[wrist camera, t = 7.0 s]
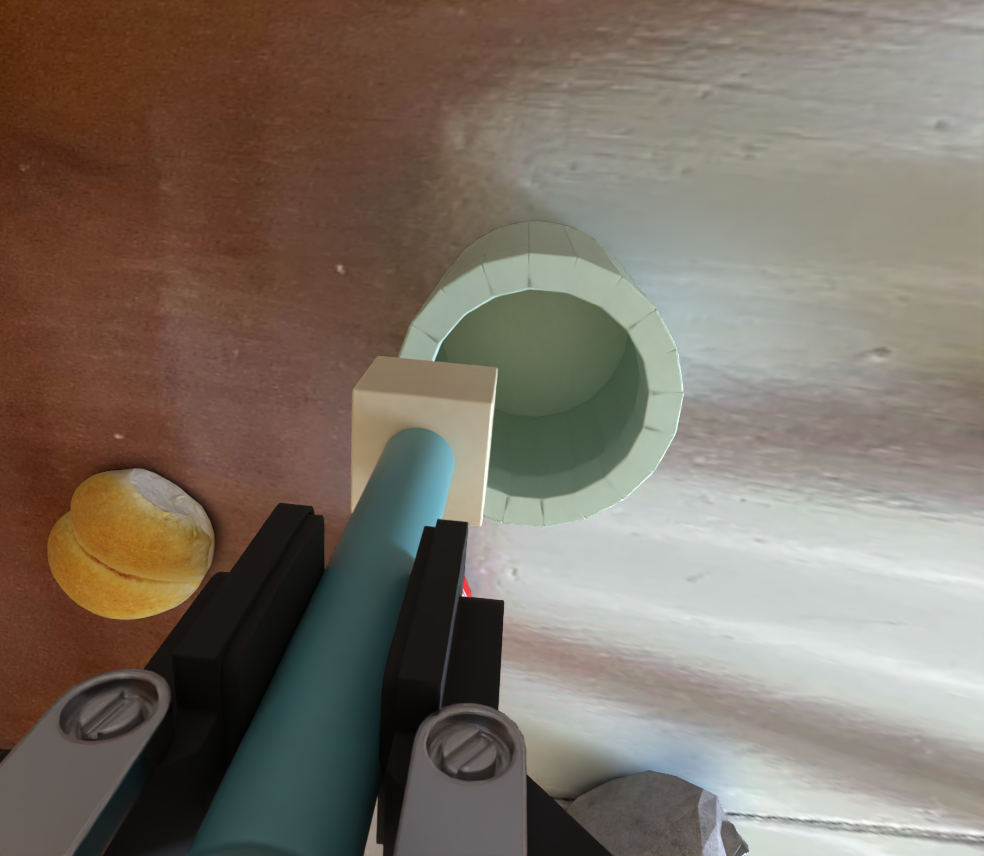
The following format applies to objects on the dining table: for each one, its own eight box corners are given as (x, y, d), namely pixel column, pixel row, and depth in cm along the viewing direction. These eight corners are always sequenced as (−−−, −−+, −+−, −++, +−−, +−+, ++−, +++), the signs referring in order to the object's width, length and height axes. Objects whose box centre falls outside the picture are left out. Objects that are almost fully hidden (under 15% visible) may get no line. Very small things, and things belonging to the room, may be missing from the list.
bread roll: (47, 548, 41) (-2, 588, 37) (115, 439, 38) (70, 470, 34) (170, 624, 42) (136, 670, 39) (245, 525, 40) (215, 563, 36)
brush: (376, 355, 19) (70, 763, 6) (498, 366, 19) (436, 802, 6) (373, 465, 21) (113, 993, 8) (487, 476, 21) (419, 1026, 8)
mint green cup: (438, 212, 33) (398, 240, 23) (651, 231, 33) (708, 268, 22) (428, 411, 36) (389, 512, 26) (619, 429, 36) (656, 538, 26)
